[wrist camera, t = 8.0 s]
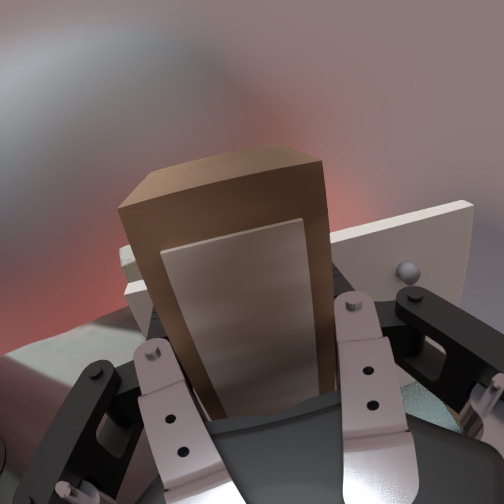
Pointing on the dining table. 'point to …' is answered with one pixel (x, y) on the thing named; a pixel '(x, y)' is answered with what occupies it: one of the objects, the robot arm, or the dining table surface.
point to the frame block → (241, 275)
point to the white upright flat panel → (385, 262)
